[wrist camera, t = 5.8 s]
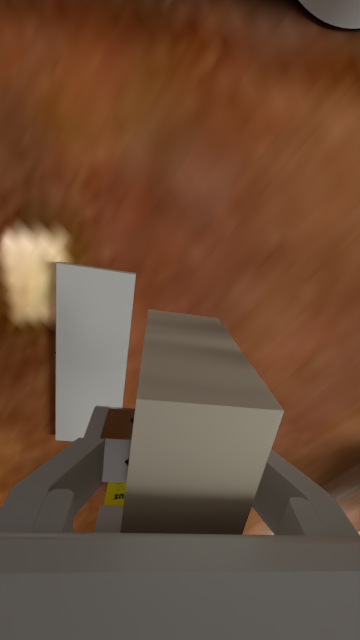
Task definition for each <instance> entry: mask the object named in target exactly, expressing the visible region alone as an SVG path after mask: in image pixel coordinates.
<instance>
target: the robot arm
mask: <svg viewBox="0 0 360 640" xmlns="http://www.w3.org/2000/svg"><path fill="white" fill-rule="evenodd" d="M299 1H300V3H301V4H302V5H303V6H304V7H305V8H306V9H307V10H308V11H309V12H310V13H312V14H313V15H314V16H316V17H317V18H319V19H320V20H322V21H324V22H326V23H328V24H331V25H334V26H337V27H341V28H349V29H357V28H360V0H299ZM134 415H135V409H131V408H121V407H111V406H110V407H109V406H98V405H96V406H95V408H94V410H93V413H92V416H91V418H90V421H89V424H88V426H87V429H86V432H85V434H84V437H83V438H78V439H76V440H75V441H74V442H72V443H71V444H69V445H68V446H67V447H65V448H64V449H63V450H61V451H60V452H59V453H57V454H56V455H55V456H53V457H52V458H50V459H49V460H48V461H46V462H45V463H44V464H42V465H41V466H40V467H38V468H37V469H36V470H34V471H33V472H31V473H30V474H29V475H27V476H26V477H25V478H23V479H22V480H21V481H19V482H18V483H16V484H15V485H14V486H13V488H12V489H11V491H10V493H9V494H8V496H7V498H6V500H5V501H4V503H3V505H2V506H1V508H0V640H360V535H359V534H358V532H357V531H356V529H355V528H354V526H353V525H352V523H351V522H350V520H349V519H348V517H347V516H346V514H345V513H344V511H343V510H342V508H341V507H340V505H339V504H338V502H337V501H336V499H335V498H334V497H333V496H332V495H330V494H329V493H328V492H327V491H325V490H324V489H323V488H321V487H320V486H319V485H318V484H316V483H315V482H314V481H312V480H311V479H310V478H309V477H307V476H306V475H305V474H303V473H302V472H301V471H300V470H298V469H297V468H296V467H294V466H293V465H292V464H291V463H289V462H288V461H287V460H285V459H284V458H283V457H282V456H280V455H279V454H278V453H276V452H275V451H274V450H273V449H271V451H270V454H269V457H268V460H267V463H266V466H265V468H264V471H263V474H262V477H261V480H260V483H259V486H258V489H257V492H256V495H255V498H254V501H253V504H252V507H253V508H254V509H255V511H256V512H257V513H258V514H259V516H260V517H261V518H262V519H263V521H264V522H265V523H266V524H267V526H268V527H269V528H270V529H271V531H272V532H273V533H274V534H275V535H234V534H166V533H97V532H72V530H73V517H74V516H75V515H76V514H77V513H78V511H79V510H80V509H81V508H82V507H83V505H84V504H85V503H86V502H87V501H88V499H89V498H90V497H91V496H92V495H93V493H94V492H95V491H96V490H97V489H98V487H99V486H100V485H101V483H102V482H126V481H127V473H128V465H129V456H130V448H131V440H132V431H133V423H134Z"/></svg>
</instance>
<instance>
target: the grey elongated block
mask: <svg viewBox="0 0 360 640" xmlns="http://www.w3.org/2000/svg"><path fill="white" fill-rule="evenodd" d="M283 413H284V410H283V408H282V407H281V406H280V404H279V403H278V401H277V400H276V399H275V397H274V396H273V394H272V393H271V392H270V390H269V389H268V387H267V386H266V385H265V383H264V382H263V380H262V379H261V378H260V376H259V375H258V373H257V372H256V371H255V369H254V368H253V366H252V365H251V363H250V362H249V361H248V359H247V358H246V356H245V355H244V354H243V352H242V351H241V349H240V348H239V347H238V345H237V344H236V342H235V341H234V340H233V338H232V337H231V335H230V334H229V333H228V331H227V330H226V328H225V327H224V326H223V324H222V323H221V321H220V320H219V319H218V318H213V317H205V316H197V315H189V314H181V313H173V312H166V311H158V310H150V309H148V315H147V323H146V330H145V338H144V345H143V353H142V361H141V368H140V376H139V383H138V391H137V398H136V406H135V415H134V423H133V431H132V440H131V448H130V456H129V465H128V473H127V481H126V490H125V498H124V506H116V505H100V507H99V512H98V517H97V521H96V526H95V531H94V532H97V533H166V534H234V535H242V533H243V530H244V527H245V524H246V521H247V518H248V515H249V513H250V510H251V507H252V504H253V501H254V498H255V495H256V492H257V489H258V486H259V483H260V480H261V477H262V474H263V471H264V468H265V466H266V463H267V460H268V457H269V454H270V451H271V448H272V445H273V442H274V439H275V436H276V433H277V430H278V427H279V424H280V421H281V419H282V416H283Z"/></svg>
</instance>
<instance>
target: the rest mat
mask: <svg viewBox="0 0 360 640" xmlns="http://www.w3.org/2000/svg"><path fill="white" fill-rule="evenodd" d="M135 278H136V273H134V272H127V271H120V270H114V269H107V268H100V267H93V266H86V265H79V264H72V263H65V262H58V263H56V440H63V441H75V440H76V439H78V438H83V437H84V434H85V432H86V429H87V426H88V424H89V421H90V418H91V416H92V413H93V410H94V408H95V406H96V405H98V406H109V407H110V406H111V407H121V408H122V405H123V395H124V386H125V376H126V366H127V356H128V347H129V337H130V327H131V317H132V308H133V298H134V288H135Z"/></svg>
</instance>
